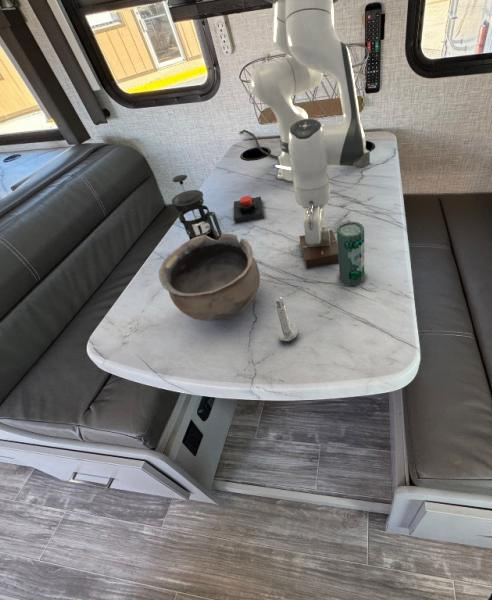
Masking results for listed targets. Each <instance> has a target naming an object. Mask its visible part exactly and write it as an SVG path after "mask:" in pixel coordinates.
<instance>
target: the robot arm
mask: <svg viewBox="0 0 492 600" xmlns="http://www.w3.org/2000/svg"><path fill="white" fill-rule="evenodd" d="M264 1H265V2H267V3H270V4H272V13H271V14H272V17H271V18H272V20H271V21H272V22H271V37H272V42H273V43H274V46H275V47H276V49H277V50H278V51H279V52H281V53H283V54H285V56H284V57H282V58H278V59H274V60H271V61H266V62H264V63H262V64H260V65H259V66H256V67H255V68H253V69H252V71H251V75H250V87H251V90H252V93H253V95H254V97H256V99H257V100H258V101H260V102H261V103H263V104H265V105H266V106H268V108H269V109H270V110H271V111H272V112H273V115H274V116H275V119H276V122H277V126H278V131H279V136H280V140H279V144H280V150H281V152H280V154H279V155H274V154H272V153H270V152H267V151H266V150H264V149H263V148H261V146H260V143H259V142H258V138H257V137H256V135H255V134H254V133H253V132H250V131H248V130H246V129H242V130H243V132H241V131H240V132H239V133H240V134H243V133H246V134H248V135H250V136H252V137H253V139H254V140H255V145H256V146H257V148H258V150H259V151H260V152H262V153H263V154H265V155H267V156H269V157H271V158H273V159H277V163H279V165H278V164H276V165H275V167H276V168H278V170H277V179H279V180H285V181H288V182H292V184H293V188H294V189H293V191H294V196H295V202H296V203H297V205H298V206H300V207H302V209H303V210H304V213H303V229H304V235H305V240H306V243H307V244H308V245H314V244H320V241H321V231H322V227H323V221H324V212H325V207H326V206H327V203H328V202H329V201H330V199H331V185H330V176H329V174H328V166H329V167H330V166H331V167H332V166H341V167H354V166H356V165H355V164H356V163H358V162H359V161H360V160H361V159H362V157H363V156H364V153H365V149H367V148H366V146H367V142H366V141H367V140H366V134H365V131H364V128H363V124H362V121H361V118H360V108H359V100H358V95H357V87H356V83H355V75H354V70H353V66H352V60H351V54H350V51H349V48H348V46H347V44H346V43H345V42H343V41H341V40H340V39H339V37H338V34H337V32H336V29H335V13H334V12H335V11H334V4H335V3H338V1H339V0H264ZM324 75H326V76H328V77H330V78H331V79H333V81H335V83H336V85H337V87H338V93H339V94H338V95H339V100H340V106H341V111H342V115H343V116H342V120H341V121H339V122H330V123H329V122H328V123H321V121H319V120H318V119H315V118H309V115H308V113H307V111H306V110H305V109H304V108H302V107H300V106H298V105H294V103H293V99H292V97H293V96H298V95H300V94H304V93H307V92H308V93H309V92H310V91H311V90H314V89H315V88H316V87H319V85H321V83H322V80H323V77H324Z"/></svg>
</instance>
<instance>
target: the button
mask: <svg viewBox="0 0 492 600" xmlns="http://www.w3.org/2000/svg"><path fill="white" fill-rule="evenodd" d="M251 198H252V196H250V195H244V196H242V197H240V199H239V200H240V202H241V205H242V206H247V205H250V204H252V199H251Z"/></svg>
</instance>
